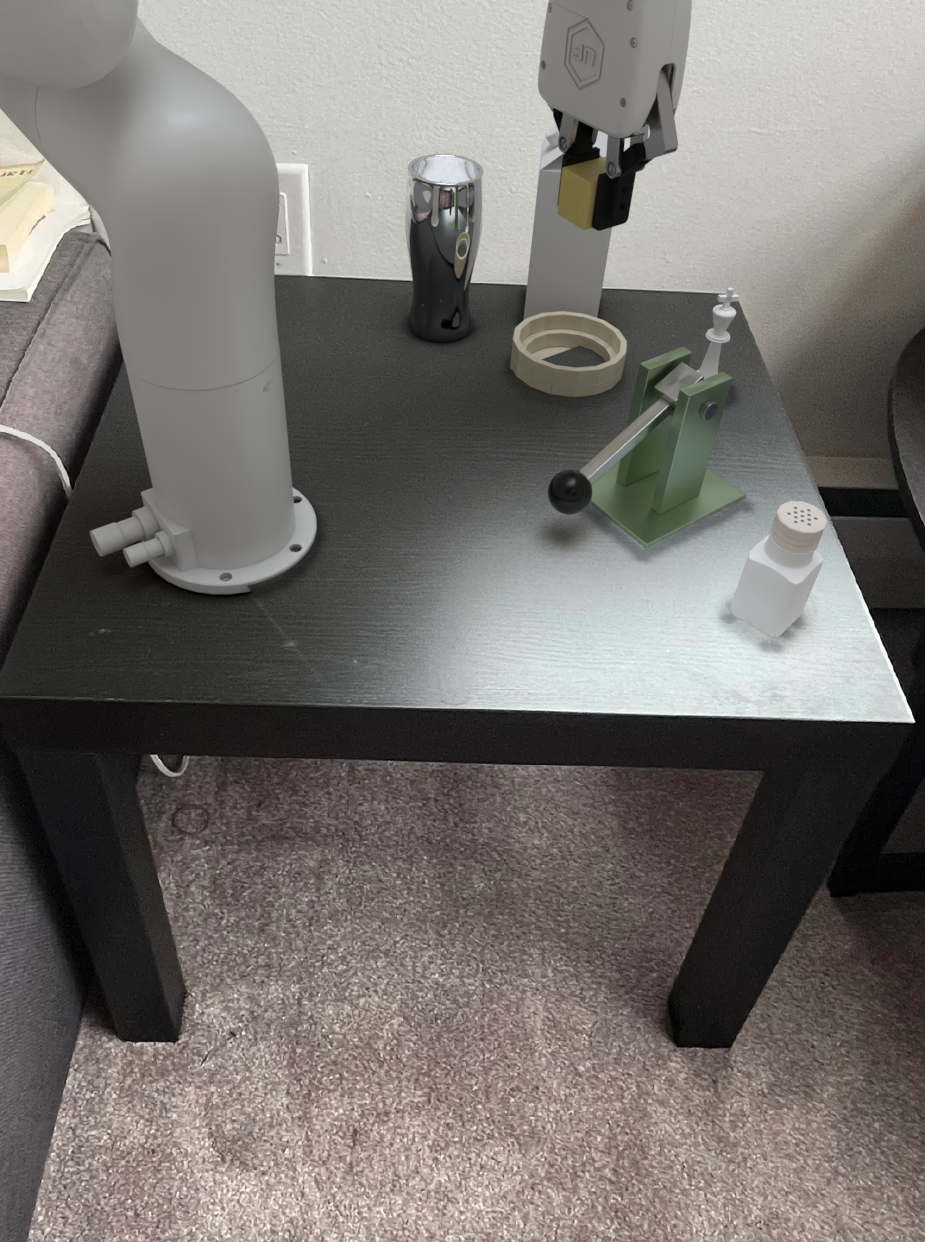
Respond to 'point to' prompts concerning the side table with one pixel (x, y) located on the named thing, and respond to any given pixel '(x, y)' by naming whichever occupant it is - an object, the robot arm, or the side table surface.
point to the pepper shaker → (781, 570)
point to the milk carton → (563, 246)
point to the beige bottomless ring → (561, 334)
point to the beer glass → (442, 242)
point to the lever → (619, 445)
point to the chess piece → (718, 333)
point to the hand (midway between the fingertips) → (592, 213)
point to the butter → (580, 191)
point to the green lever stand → (669, 459)
